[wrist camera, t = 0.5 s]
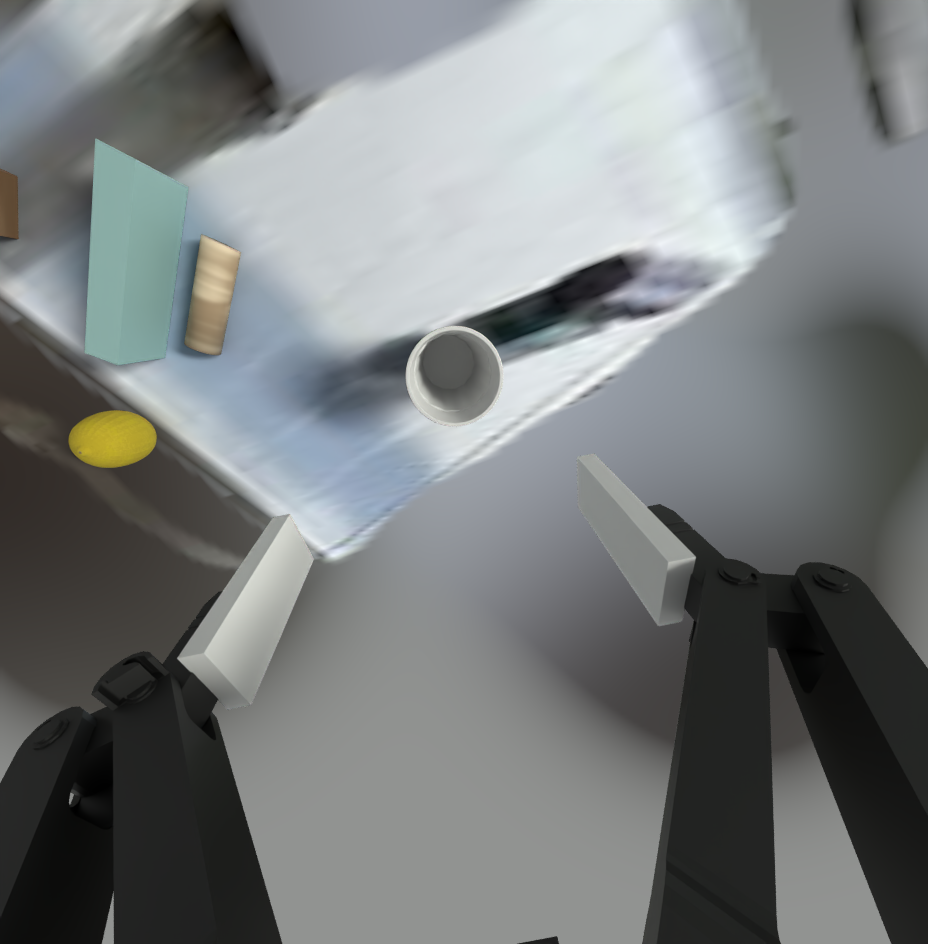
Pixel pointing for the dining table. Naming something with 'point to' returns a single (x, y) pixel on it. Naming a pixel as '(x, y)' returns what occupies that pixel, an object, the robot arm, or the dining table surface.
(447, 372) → the cup
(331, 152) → the dining table surface
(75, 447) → the lemon
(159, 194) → the rail
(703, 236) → the dining table surface
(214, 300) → the roller
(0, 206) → the slab
